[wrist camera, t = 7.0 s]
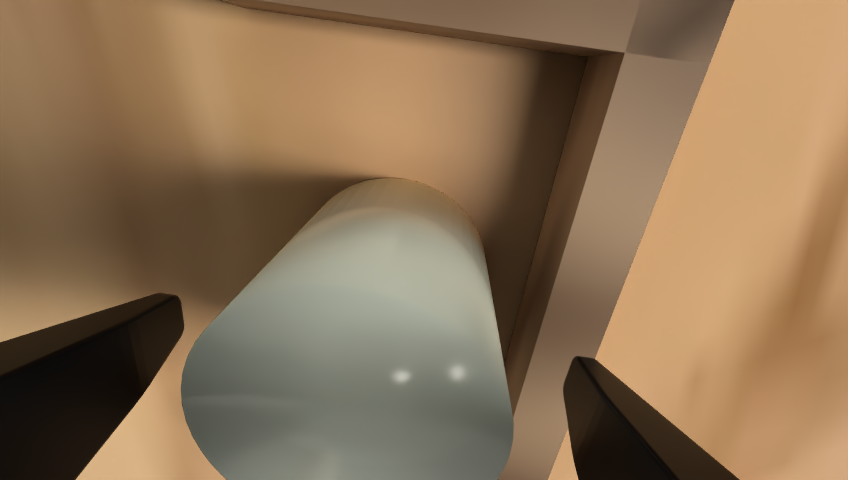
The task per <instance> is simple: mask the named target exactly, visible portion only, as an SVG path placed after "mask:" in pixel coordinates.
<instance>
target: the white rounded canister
mask: <svg viewBox="0 0 848 480" xmlns="http://www.w3.org/2000/svg"><path fill="white" fill-rule="evenodd" d="M181 398H182V407H183V411H184V415H185V419H186V422H187V424H188V427H189V429H190V432H191V434H192V436H193V438H194V440H195V441H196V443H197V445H198V447H199V448H200V450H201V451H202V453H203V454H204V455H205V457H206V458H207V459H208V460H209V462H210V463H211V464H212V465H213V466H214V467H215V468H216V470H217V471H218V472H219V473H220V474H221V475H222V476H223V477H224V478H226V479H227V480H497V479H498V477H499V476H500V474H501V473H502V471H503V470H504V467H505V465H506V463H507V460H508V458H509V455H510V451H511V447H512V442H513V429H514V422H513V415H512V408H511V402H510V396H509V391H508V385H507V379H506V374H505V368H504V362H503V356H502V351H501V345H500V339H499V333H498V328H497V322H496V316H495V311H494V305H493V299H492V293H491V288H490V282H489V276H488V271H487V265H486V259H485V253H484V248H483V244H482V241H481V238H480V235H479V233H478V231H477V229H476V227H475V225H474V224H473V222H472V221H471V219H470V218H469V216H468V215H467V214H466V213H465V212H464V210H463V209H462V208H461V207H460V206H459V205H458V204H457V203H455V202H454V201H453V200H452V199H451V198H449V197H448V196H446V195H445V194H443V193H442V192H440V191H438V190H436V189H434V188H432V187H430V186H428V185H425V184H422V183H419V182H416V181H411V180H407V179H399V178H378V179H373V180H367V181H363V182H360V183H357V184H354V185H352V186H350V187H348V188H346V189H344V190H342V191H341V192H339V193H338V194H336V195H335V196H333V197H332V198H331V199H330V200H329V201H328V202H327V203H326V204H325V205H324V206H323V207H322V208H321V209H320V210H319V211H318V212H317V213H316V214H315V215H314V216H313V217H312V218H311V219H310V220H309V221H308V222H307V223H306V224H305V225H304V226H303V227H302V229H301V230H300V231H299V232H298V233H297V234H296V235H295V236H294V237H293V238H292V239H291V240H290V241H289V242H288V243H287V244H286V245H285V246H284V247H283V248H282V249H281V250H280V251H279V252H278V254H277V255H276V256H275V257H274V258H273V259H272V260H271V261H270V262H269V263H268V264H267V265H266V266H265V267H264V268H263V269H262V270H261V271H260V272H259V273H258V274H257V275H256V276H255V278H254V279H253V280H252V281H251V282H250V283H249V284H248V285H247V286H246V287H245V288H244V289H243V290H242V291H241V292H240V293H239V294H238V295H237V296H236V297H235V298H234V299H233V300H232V301H231V303H230V304H229V305H228V306H227V307H226V308H225V309H224V310H223V311H222V312H221V313H220V314H219V315H218V316H217V317H216V318H215V319H214V320H213V321H212V322H211V323H210V324H209V325H208V327H207V328H206V329H205V330H204V331H203V333H202V334H201V335H200V336H199V338H198V339H197V340H196V341H195V343H194V345H193V347H192V349H191V351H190V353H189V355H188V357H187V360H186V363H185V366H184V370H183V373H182V383H181Z"/></svg>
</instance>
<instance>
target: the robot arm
mask: <svg viewBox="0 0 848 480" xmlns="http://www.w3.org/2000/svg"><path fill="white" fill-rule="evenodd" d="M183 330H184V320H183V313H182V306H181V300H180V298H179V297H178V296H176V295H171V294H165V293H156V294H153V295H150V296H147V297H144V298H140V299H137V300H134V301H131V302H128V303H124V304H121V305H118V306H115V307H112V308H109V309H105V310H102V311H99V312H96V313H93V314H89V315H86V316H83V317H80V318H77V319H73V320H70V321H67V322H64V323H61V324H57V325H54V326H51V327H48V328H45V329H42V330H38V331H35V332H32V333H29V334H26V335H22V336H19V337H16V338H13V339H10V340H6V341H3V342H0V480H76V478H77V477H78V476H79V475H80V473H81V472H82V471H83V470H84V468H85V467H86V466H87V465H88V463H89V462H90V461H91V460H92V458H93V457H94V456H95V455H96V453H97V452H98V451H99V450H100V448H101V447H102V446H103V445H104V443H105V442H106V441H107V439H108V438H109V437H110V436H111V434H112V433H113V432H114V431H115V429H116V428H117V427H118V426H119V424H120V423H121V422H122V421H123V419H124V418H125V417H126V416H127V414H128V413H129V412H130V411H131V409H132V408H133V407H134V406H135V404H136V403H137V402H138V400H139V399H140V398H141V396H142V395H143V394H144V392H145V391H146V389H147V388H148V387H149V385H150V384H151V382H152V380H153V379H154V377H155V376H156V374H157V373H158V371H159V370H160V368H161V367H162V365H163V364H164V362H165V361H166V359H167V357H168V356H169V354H170V353H171V351H172V350H173V348H174V347H175V345H176V344H177V342H178V341H179V339H180V337H181V336H182V333H183ZM563 397H564V403H565V409H566V416H567V422H568V429H569V435H570V441H571V448H572V453H573V459H574V463H575V467H576V472H577V475H578V479H579V480H739V479H738V478H737V477H736V476H735V475H733V474H732V473H731V472H730V471H729V470H727V469H726V468H725V467H724V466H723V465H721V464H720V463H719V462H718V461H717V460H715V459H714V458H713V457H712V456H711V455H709V454H708V453H707V452H706V451H705V450H703V449H702V448H701V447H700V446H699V445H697V444H696V443H695V442H694V441H693V440H691V439H690V438H689V437H688V436H687V435H685V434H684V433H683V432H682V431H681V430H679V429H678V428H677V427H676V426H675V425H673V424H672V423H671V422H670V421H669V420H667V419H666V418H665V417H664V416H663V415H661V414H660V413H659V412H658V411H657V410H655V409H654V408H653V407H652V406H651V405H649V404H648V403H647V402H646V401H645V400H643V399H642V398H641V397H640V396H639V395H637V394H636V393H635V392H634V391H633V390H631V389H630V388H629V387H628V386H627V385H625V384H624V383H623V382H622V381H621V380H620V379H618V378H617V377H616V376H615V375H614V374H612V373H611V372H610V371H609V370H608V369H606V368H605V367H604V366H603V365H602V364H600V363H599V362H598V361H597V360H595V359H594V358H590V357H583V356H576V357H574V358H573V360H572V362H571V365H570V367H569V370H568V373H567V376H566V378H565V381H564V385H563Z"/></svg>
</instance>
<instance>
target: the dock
mask: <svg viewBox="0 0 848 480" xmlns="http://www.w3.org/2000/svg"><path fill="white" fill-rule="evenodd" d="M221 1H224V2H227V3H231V4H234V5H237V6H240V7H244V8H249V9H256V10H263V11H270V12H277V13H284V14H291V15H298V16H305V17H312V18H319V19H326V20H333V21H340V22H347V23H354V24H361V25H368V26H375V27H382V28H389V29H397V30H404V31H411V32H418V33H425V34H432V35H439V36H446V37H453V38H460V39H467V40H474V41H481V42H488V43H495V44H502V45H509V46H516V47H523V48H530V49H537V50H544V51H551V52H558V53H565V54H572V55H579V56H586V57H588V59H587V63H586V66H585V70H584V74H583V77H582V81H581V85H580V88H579V92H578V96H577V99H576V103H575V107H574V110H573V114H572V118H571V121H570V125H569V129H568V132H567V136H566V140H565V143H564V147H563V151H562V154H561V158H560V162H559V165H558V169H557V172H556V176H555V180H554V183H553V187H552V191H551V194H550V198H549V202H548V205H547V209H546V213H545V216H544V220H543V224H542V227H541V231H540V235H539V238H538V242H537V246H536V249H535V253H534V257H533V260H532V264H531V268H530V271H529V275H528V279H527V282H526V286H525V290H524V293H523V297H522V301H521V304H520V308H519V312H518V315H517V319H516V323H515V326H514V330H513V334H512V337H511V341H510V345H509V348H508V352H507V356H506V359H505V363H504V368H505V374H506V379H507V385H508V391H509V396H510V402H511V408H512V415H513V422H514V429H513V442H512V447H511V451H510V455H509V458H508V460H507V463H506V465H505V467H504V470H503V471H502V473H501V474H500V476H499V477H498V479H497V480H548V478H549V475H550V472H551V470H552V467H553V465H554V462H555V460H556V457H557V455H558V452H559V449H560V447H561V444H562V442H563V439H564V437H565V434H566V431H567V429H568V422H567V416H566V409H565V403H564V397H563V385H564V381H565V378H566V376H567V373H568V370H569V367H570V365H571V362H572V360H573V358H574V357H576V356H583V357H590V358H594V359H595V357H596V354H597V352H598V349H599V347H600V344H601V342H602V339H603V336H604V334H605V331H606V329H607V326H608V324H609V321H610V318H611V316H612V313H613V311H614V308H615V306H616V303H617V300H618V298H619V295H620V293H621V290H622V288H623V285H624V282H625V280H626V277H627V275H628V272H629V270H630V267H631V264H632V262H633V259H634V257H635V254H636V252H637V249H638V247H639V244H640V241H641V239H642V236H643V234H644V231H645V229H646V226H647V223H648V221H649V218H650V216H651V213H652V211H653V208H654V205H655V203H656V200H657V198H658V195H659V193H660V190H661V187H662V185H663V182H664V180H665V177H666V175H667V172H668V169H669V167H670V164H671V162H672V159H673V157H674V154H675V151H676V149H677V146H678V144H679V141H680V139H681V136H682V134H683V131H684V128H685V126H686V123H687V121H688V118H689V116H690V113H691V110H692V108H693V105H694V103H695V100H696V98H697V95H698V92H699V90H700V87H701V85H702V82H703V80H704V77H705V74H706V72H707V69H708V67H709V64H710V62H711V59H712V56H713V54H714V51H715V49H716V46H717V44H718V41H719V38H720V36H721V33H722V31H723V28H724V26H725V23H726V21H727V18H728V15H729V13H730V10H731V8H732V5H733V3H734V0H221Z"/></svg>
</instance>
